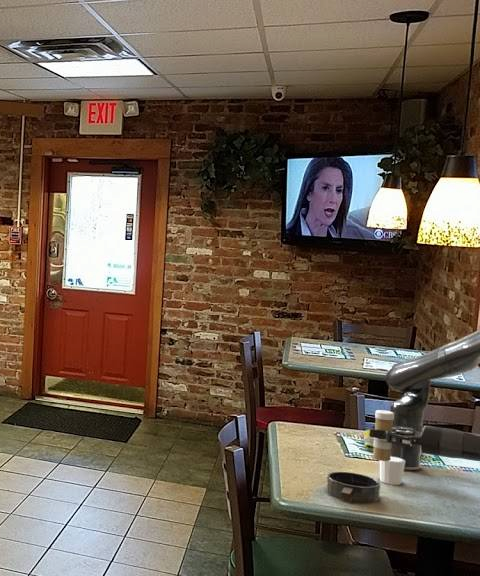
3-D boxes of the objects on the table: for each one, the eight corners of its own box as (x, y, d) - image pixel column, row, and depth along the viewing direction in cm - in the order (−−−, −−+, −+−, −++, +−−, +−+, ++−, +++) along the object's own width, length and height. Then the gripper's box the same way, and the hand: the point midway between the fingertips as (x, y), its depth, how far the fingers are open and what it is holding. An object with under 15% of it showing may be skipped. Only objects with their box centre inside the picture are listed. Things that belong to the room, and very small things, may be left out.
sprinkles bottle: (370, 459, 213) (373, 411, 212) (374, 455, 216) (377, 408, 215) (388, 462, 210) (392, 414, 209) (392, 459, 213) (396, 411, 212)
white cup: (394, 486, 224) (396, 463, 224) (372, 479, 230) (374, 456, 230) (408, 483, 227) (410, 460, 227) (386, 476, 234) (388, 454, 233)
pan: (331, 483, 225) (332, 468, 225) (382, 494, 217) (383, 478, 217) (322, 495, 214) (323, 480, 214) (374, 507, 207) (376, 490, 206)
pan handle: (344, 499, 212) (345, 486, 211) (352, 501, 210) (353, 488, 210) (339, 506, 207) (340, 492, 206) (348, 508, 205) (349, 493, 205)
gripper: (445, 423, 210) (375, 412, 220) (442, 433, 198) (368, 422, 208) (443, 449, 210) (373, 438, 220) (439, 462, 199) (366, 449, 209)
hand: (371, 430), depth 214 cm, fingers closed on sprinkles bottle, 4 cm apart
